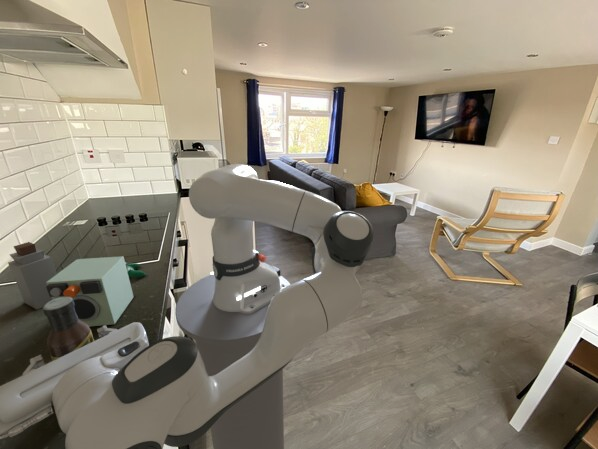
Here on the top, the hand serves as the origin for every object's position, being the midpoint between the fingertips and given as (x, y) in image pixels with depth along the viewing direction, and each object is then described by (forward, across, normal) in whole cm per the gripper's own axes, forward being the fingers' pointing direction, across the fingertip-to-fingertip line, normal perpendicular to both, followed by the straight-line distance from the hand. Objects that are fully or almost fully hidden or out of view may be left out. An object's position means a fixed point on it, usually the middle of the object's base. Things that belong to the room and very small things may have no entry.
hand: (71, 343), depth 49 cm
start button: (+19, +4, 0) cm, 19 cm away
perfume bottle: (+44, -1, -11) cm, 45 cm away
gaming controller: (+40, +22, -11) cm, 47 cm away
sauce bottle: (0, 0, -11) cm, 11 cm away
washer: (+25, +9, -11) cm, 28 cm away
